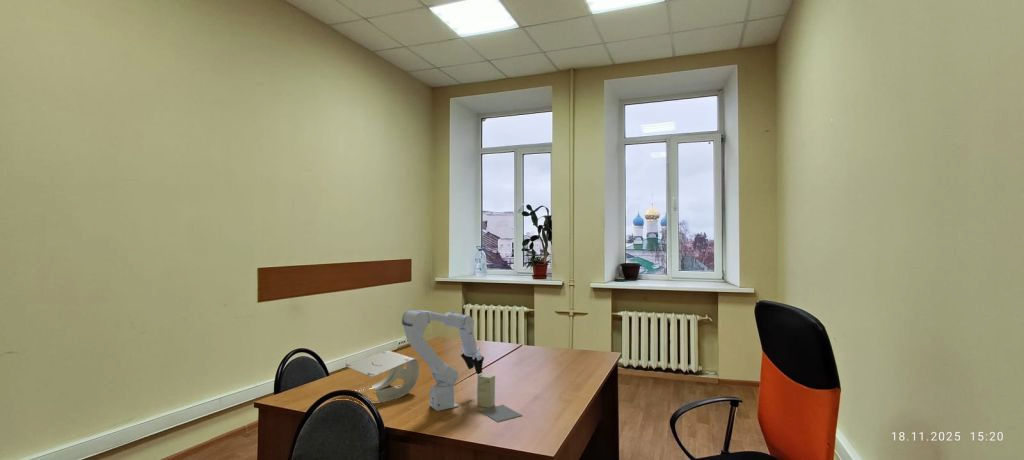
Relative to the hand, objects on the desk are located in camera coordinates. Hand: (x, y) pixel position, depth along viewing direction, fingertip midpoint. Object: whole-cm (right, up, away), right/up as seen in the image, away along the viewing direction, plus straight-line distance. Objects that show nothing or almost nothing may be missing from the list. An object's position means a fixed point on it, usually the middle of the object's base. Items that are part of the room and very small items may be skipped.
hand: (475, 370), depth 200 cm
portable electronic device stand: (-42, -12, +6) cm, 44 cm away
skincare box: (+5, -11, -12) cm, 17 cm away
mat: (+11, -10, -21) cm, 26 cm away
